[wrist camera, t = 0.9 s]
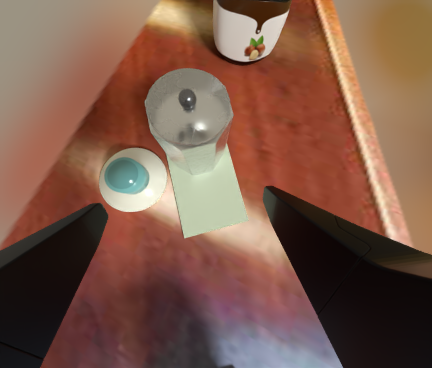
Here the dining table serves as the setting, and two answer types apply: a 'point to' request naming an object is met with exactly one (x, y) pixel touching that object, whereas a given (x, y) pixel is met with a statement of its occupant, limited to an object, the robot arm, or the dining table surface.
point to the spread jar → (248, 28)
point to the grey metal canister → (190, 118)
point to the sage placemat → (208, 197)
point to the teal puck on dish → (133, 180)
